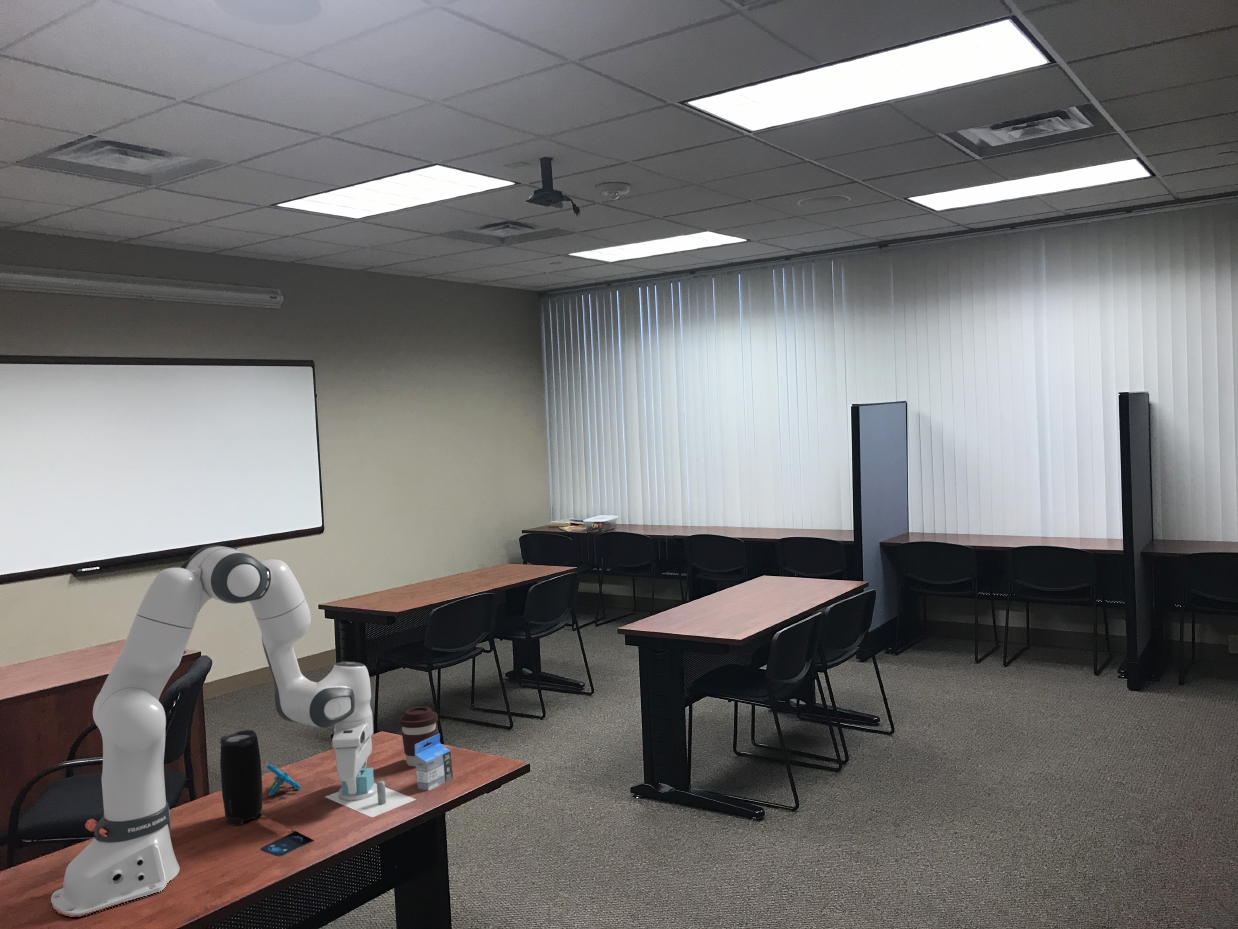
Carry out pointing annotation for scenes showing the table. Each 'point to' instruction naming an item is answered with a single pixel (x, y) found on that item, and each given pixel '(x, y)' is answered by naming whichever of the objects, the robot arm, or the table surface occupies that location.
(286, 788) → the table surface
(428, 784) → the label tape box
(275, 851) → the smartphone
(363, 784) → the teal box with opening
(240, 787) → the portable speaker
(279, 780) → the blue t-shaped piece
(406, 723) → the coffee cup
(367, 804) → the stand board
